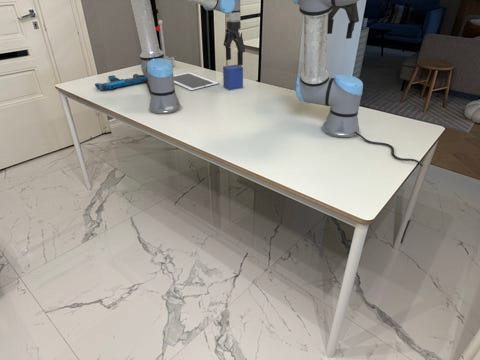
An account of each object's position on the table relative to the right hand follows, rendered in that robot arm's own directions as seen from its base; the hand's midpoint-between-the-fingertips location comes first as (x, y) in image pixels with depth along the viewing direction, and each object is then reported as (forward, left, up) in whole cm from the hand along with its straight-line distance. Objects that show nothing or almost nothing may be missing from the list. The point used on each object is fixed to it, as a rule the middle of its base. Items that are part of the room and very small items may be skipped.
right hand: (338, 36), depth 162 cm
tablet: (+66, +55, -33) cm, 92 cm away
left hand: (+41, +37, -17) cm, 57 cm away
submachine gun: (+81, +93, -33) cm, 128 cm away
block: (+45, +36, -33) cm, 66 cm away
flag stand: (+107, +60, -33) cm, 127 cm away
